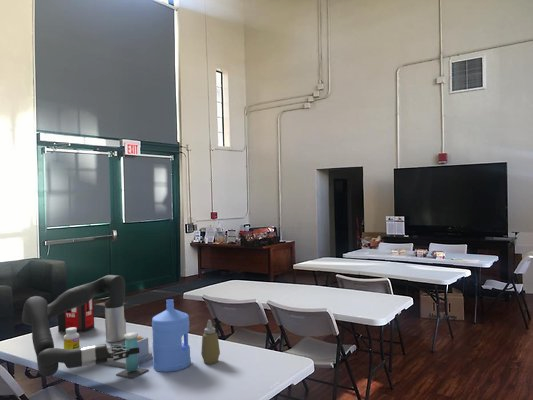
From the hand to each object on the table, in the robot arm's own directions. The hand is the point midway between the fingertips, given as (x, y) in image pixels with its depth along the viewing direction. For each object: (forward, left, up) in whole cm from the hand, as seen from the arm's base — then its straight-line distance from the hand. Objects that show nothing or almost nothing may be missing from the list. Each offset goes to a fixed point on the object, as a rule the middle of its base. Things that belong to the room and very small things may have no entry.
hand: (138, 348), depth 180 cm
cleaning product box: (-33, -80, -10) cm, 87 cm away
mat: (+2, -2, -10) cm, 10 cm away
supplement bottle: (-2, -44, -10) cm, 45 cm away
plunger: (-11, -12, -5) cm, 17 cm away
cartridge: (+2, -2, -8) cm, 8 cm away
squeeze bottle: (-21, +21, -10) cm, 31 cm away
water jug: (-11, +8, -10) cm, 17 cm away
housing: (-8, -16, -10) cm, 20 cm away
